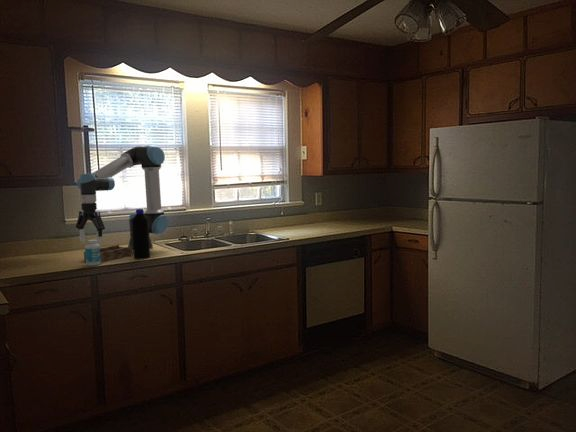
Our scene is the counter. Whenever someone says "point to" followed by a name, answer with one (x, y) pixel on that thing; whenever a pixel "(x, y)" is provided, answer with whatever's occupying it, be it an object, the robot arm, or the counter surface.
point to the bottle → (140, 235)
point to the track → (114, 252)
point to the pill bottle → (92, 253)
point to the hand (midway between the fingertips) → (90, 242)
